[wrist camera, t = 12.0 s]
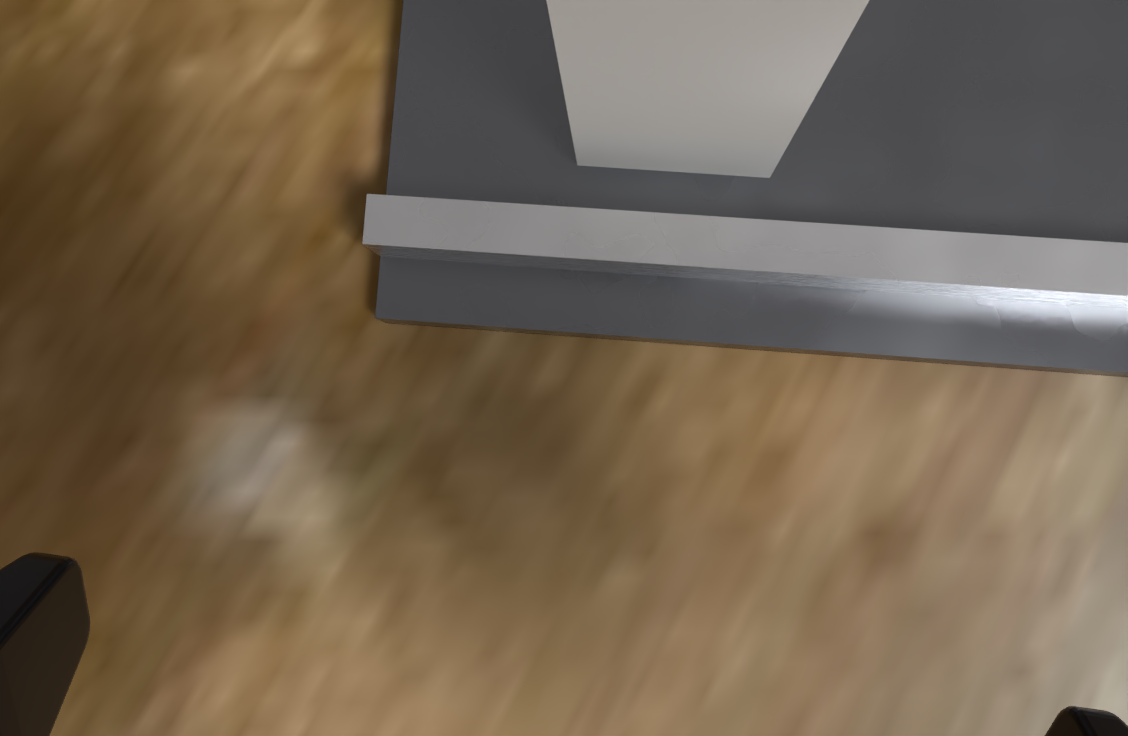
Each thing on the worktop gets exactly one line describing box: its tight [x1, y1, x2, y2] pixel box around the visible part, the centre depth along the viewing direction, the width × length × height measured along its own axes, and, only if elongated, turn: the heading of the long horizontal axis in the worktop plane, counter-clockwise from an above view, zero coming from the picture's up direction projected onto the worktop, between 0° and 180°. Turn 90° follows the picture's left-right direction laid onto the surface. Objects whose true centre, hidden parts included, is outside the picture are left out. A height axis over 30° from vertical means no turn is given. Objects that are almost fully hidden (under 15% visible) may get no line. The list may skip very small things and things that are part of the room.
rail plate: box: [362, 0, 1128, 377], centre depth 21 cm, size 20×12×2 cm, turn 86°
